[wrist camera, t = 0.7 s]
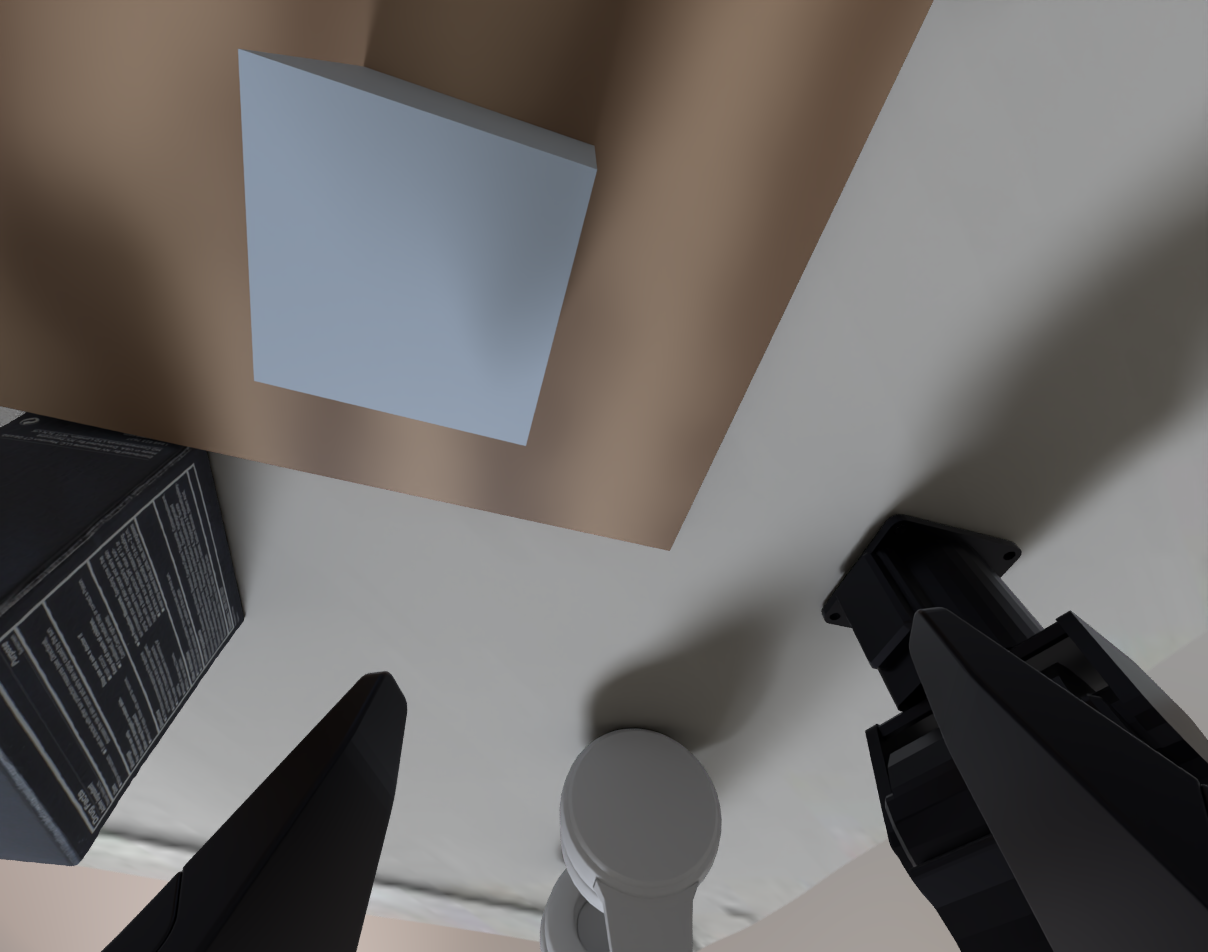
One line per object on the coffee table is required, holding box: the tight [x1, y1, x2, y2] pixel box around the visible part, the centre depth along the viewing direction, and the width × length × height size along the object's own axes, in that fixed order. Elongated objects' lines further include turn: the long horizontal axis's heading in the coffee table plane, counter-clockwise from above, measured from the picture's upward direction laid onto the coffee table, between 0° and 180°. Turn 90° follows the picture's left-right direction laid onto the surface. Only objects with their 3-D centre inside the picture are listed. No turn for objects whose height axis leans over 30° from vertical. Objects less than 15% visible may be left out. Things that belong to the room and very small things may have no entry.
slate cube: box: [238, 49, 597, 446], centre depth 14 cm, size 6×6×6 cm
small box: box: [0, 412, 244, 866], centre depth 19 cm, size 11×6×10 cm, turn 169°
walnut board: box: [0, 0, 933, 551], centre depth 15 cm, size 27×25×1 cm
